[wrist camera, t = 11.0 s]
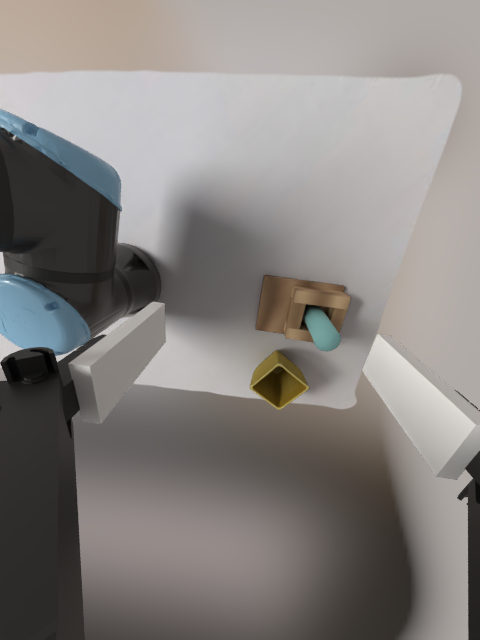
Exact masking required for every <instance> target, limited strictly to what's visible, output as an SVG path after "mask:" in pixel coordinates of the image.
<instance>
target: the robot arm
mask: <svg viewBox="0 0 480 640" xmlns="http://www.w3.org/2000/svg"><path fill="white" fill-rule="evenodd" d="M120 202H121V180H120V177H119V175H118V173H117V172H116V171H115V169H114V168H113V167H111V166H110V165H109V164H108V163H106V162H105V161H103V160H101V159H100V158H98V157H96V156H95V155H93V154H91V153H89V152H88V151H86V150H84V149H82V148H80V147H78V146H77V145H75V144H73V143H71V142H69V141H67V140H65V139H63V138H61V137H59V136H57V135H55V134H53V133H51V132H49V131H47V130H45V129H43V128H40V127H37V126H36V125H34V124H32V123H30V122H27V121H25V120H24V119H22V118H20V117H18V116H16V115H14V114H11V113H9V112H7V111H4V110H2V109H0V252H3V256H4V265H5V274H0V334H2V335H3V336H4V337H5V338H7V339H8V340H9V341H11V342H12V343H14V344H15V345H17V346H19V347H21V348H23V350H20V351H17V352H14V353H12V354H10V355H8V356H7V357H5V358H4V359H3V360H2V361H1V362H0V363H1V366H2V369H3V371H4V374H5V376H6V378H7V381H0V640H85V635H84V616H83V599H82V580H81V561H80V542H79V524H78V506H77V488H76V470H75V453H74V452H75V451H74V432H73V422H72V417H73V416H74V415H75V414H76V413H77V412H78V411H80V415H81V419H82V421H86V422H92V423H99V424H101V423H102V421H103V420H104V419H105V418H106V417H107V415H108V414H109V413H110V412H111V410H112V409H113V408H114V406H115V405H116V404H117V403H118V401H119V400H120V399H121V398H122V396H123V395H124V394H125V393H126V391H127V390H128V389H129V388H130V386H131V385H132V384H133V382H134V381H135V380H136V379H137V377H138V376H139V375H140V374H141V372H142V371H143V370H144V369H145V367H146V366H147V365H148V364H149V362H150V361H151V360H152V358H153V357H154V356H155V355H156V353H157V352H158V351H159V350H160V348H161V347H162V346H163V345H164V343H165V342H166V335H165V303H159V302H157V300H158V298H159V295H160V291H161V281H160V276H159V273H158V270H157V268H156V266H155V265H154V263H153V262H152V261H151V259H150V258H149V257H148V256H147V255H146V254H145V253H144V252H142V251H141V250H139V249H138V248H136V247H134V246H131V245H128V244H123V243H117V241H118V230H119V219H120V211H122V207H121V205H120ZM130 316H132V317H131V318H130V319H128V320H127V321H126V322H124V323H123V324H122V325H120V326H119V327H117V328H116V329H115V330H113V331H112V332H111V333H109V334H108V335H101V336H98V337H95V336H96V335H98V334H99V333H100V332H102V331H103V330H105V329H106V328H108V327H109V326H110V325H112V324H113V323H115V322H116V321H117V320H119V319H120V318H123V317H130ZM93 337H95V338H93ZM92 338H93V339H92ZM81 345H83V346H81ZM79 346H81V347H79ZM77 347H79V348H78V349H76V351H73V352H72V353H71V354H69V355H68V356H66V357H65V358H63V359H62V360H60V361H59V362H57V361H56V357H55V356H57V355H62V354H66V353H68V352H70V351H72V350H74V349H75V348H77ZM362 371H363V373H364V374H365V376H366V377H367V378H368V380H369V381H370V383H371V384H372V386H373V387H374V388H375V390H376V391H377V392H378V394H379V396H380V397H381V399H382V400H383V401H384V403H385V404H386V406H387V407H388V409H389V410H390V411H391V413H392V414H393V416H394V417H395V419H396V420H397V421H398V423H399V424H400V426H401V427H402V428H403V430H404V431H405V433H406V434H407V436H408V437H409V439H410V440H411V441H412V443H413V444H414V446H415V447H416V449H417V450H418V451H419V453H420V454H421V456H422V457H423V458H424V460H425V461H426V463H427V464H428V466H429V467H430V469H431V470H432V471H433V473H434V474H435V476H436V477H443V478H449V479H455V480H457V478H458V477H459V476H460V475H461V474H462V472H463V471H464V470H465V469H466V470H467V471H468V473H469V474H470V475H471V476H472V477H473V479H472V481H471V482H470V483H469V484H468V485H467V486H466V487H465V488H464V489H463V490H462V492H461V493H460V494H459V495H458V497H457V498H458V499H459V500H462V499H463V498H464V497H468V503H467V505H468V612H469V613H468V628H469V640H480V410H478V408H477V407H476V406H474V405H473V404H472V403H469V401H468V400H467V399H466V398H465V397H464V396H462V395H461V394H460V393H459V392H458V391H456V390H454V389H453V388H451V387H450V386H449V385H448V384H447V383H446V382H444V381H443V380H442V379H441V378H440V377H439V376H437V375H436V374H435V373H434V372H433V371H432V370H430V369H429V368H428V367H427V366H426V365H424V364H423V363H422V362H421V361H420V360H419V359H417V358H416V357H415V356H414V355H413V354H412V353H410V352H409V351H408V350H407V349H406V348H405V347H403V346H402V345H401V344H400V343H399V342H397V341H396V340H395V339H394V338H393V337H392V336H390V335H384V334H377V336H376V339H375V341H374V344H373V346H372V348H371V351H370V353H369V355H368V358H367V360H366V362H365V365H364V367H363V370H362Z"/></svg>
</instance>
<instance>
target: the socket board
mask: <svg viewBox="0 0 480 640" xmlns="http://www.w3.org/2000/svg"><path fill="white" fill-rule="evenodd" d="M344 289H345V286H343V285H335V284H328V283H320V282H313V281H305V280H298V279H290V278H283V277H276V276H268V275H264V279H263V285H262V291H261V298H260V304H259V310H258V316H257V322H256V330H261V331H268V332H275V333H282V334H285V338H288V339H295V340H302V341H309V342H314V341H313V338H312V336H311V334H310V332H309V329H308V327H307V325H306V323H305V320H304V318H303V313H304V309H305V305H307V304H310V305H317V306H320V307H321V308H322V310H323V311H324V313H325V314H326V316H327V317H328V318H329V320H330V321H331V323H332V324H333V326H334V327H335V329H336V330H337V331H338V333H339V332H340V329H341V326H342V323H343V320H344V317H345V315H346V312H347V309H348V306H349V303H350V300H351V297H349V296H348V295H347V294H346V293H344Z"/></svg>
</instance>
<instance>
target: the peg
mask: <svg viewBox="0 0 480 640" xmlns="http://www.w3.org/2000/svg"><path fill="white" fill-rule="evenodd" d="M303 318H304V320H305V323H306V325H307V327H308V329H309V332H310V334H311V336H312V338H313V341H314V343H315V345H316V347H317V348H318V349H320V350H322V351H331V350H333V349H335V348H337V347H338V345H339V344H340V341H341V337H340V334H339V333H338V331H337V330H336V329H335V327H334V326H333V324H332V323H331V321H330V320H329V318H328V317H327V316H326V314H325V313H324V311H323V310H322V308H321V307H320V306H317V305H310V304H307V305H305V309H304V313H303Z"/></svg>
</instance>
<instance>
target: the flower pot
mask: <svg viewBox="0 0 480 640" xmlns="http://www.w3.org/2000/svg"><path fill="white" fill-rule="evenodd" d="M280 366H281V367H282V368H281V367H280ZM250 389H251V390H252V391H254V392H255V393H256V394H258V395H259V396H261V397H262V398H263V399H265V400H266V401H267V402H269V403H270V404H271V405H272V406H274V407H275V408H276V409H278V410H280V409H282V408H283V407H285V406H286V405H287V404H289V403H290V402H292V401H293V400H294V399H296V398H297V397H299V396H300V395H301V394H303V393H304V392H305V391H307V390H308V389H309V386H308V384H307V382H306V380H305V378H304V376H303V374H302V372H301V370H300V369H299V368H298V367H297V366H296V365H295V364H293V363H292V362H291V361H290V360H288V359H287V358H286V357H285V356H284V355H282V354H281V353H280V352H279V351H275V352H273V353H272V354H271V355H270V356H269V357H268V358H267V359H265V360H264V361H263V362H262V363H261V364H260V365H259V366H258V367H257V368H256V369H255V371H254V373H253V377H252V380H251V384H250Z"/></svg>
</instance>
